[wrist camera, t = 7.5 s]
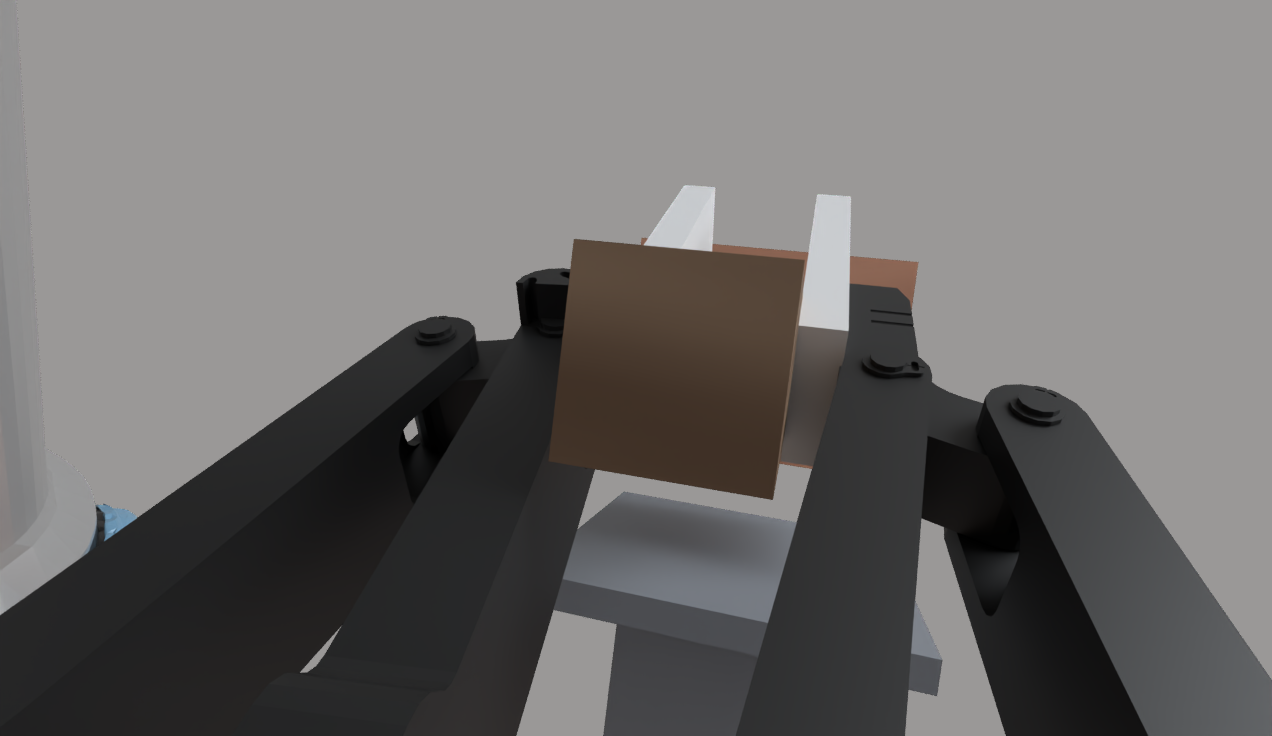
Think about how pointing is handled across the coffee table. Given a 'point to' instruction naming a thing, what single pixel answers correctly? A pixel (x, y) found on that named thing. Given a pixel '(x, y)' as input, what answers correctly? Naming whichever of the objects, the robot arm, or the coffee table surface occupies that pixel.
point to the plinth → (688, 611)
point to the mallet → (686, 360)
